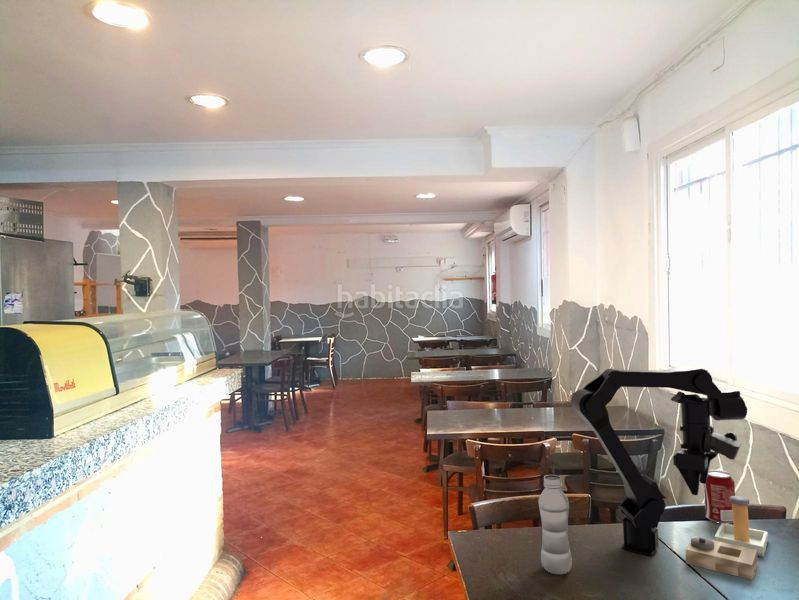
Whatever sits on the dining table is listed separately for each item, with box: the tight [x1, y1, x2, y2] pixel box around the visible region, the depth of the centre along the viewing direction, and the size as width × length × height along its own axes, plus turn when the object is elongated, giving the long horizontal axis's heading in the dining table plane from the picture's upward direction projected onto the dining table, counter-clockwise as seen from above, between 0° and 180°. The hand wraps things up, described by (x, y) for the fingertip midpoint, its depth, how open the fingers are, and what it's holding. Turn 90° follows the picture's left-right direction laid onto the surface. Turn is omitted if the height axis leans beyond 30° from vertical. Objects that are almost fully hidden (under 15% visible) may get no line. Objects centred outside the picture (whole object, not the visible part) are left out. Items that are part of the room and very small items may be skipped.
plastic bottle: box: [537, 474, 573, 576], centre depth 113 cm, size 6×7×20 cm
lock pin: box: [730, 495, 750, 543], centre depth 121 cm, size 4×4×10 cm
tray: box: [714, 523, 769, 557], centre depth 121 cm, size 9×9×2 cm
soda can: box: [703, 469, 736, 524], centre depth 134 cm, size 7×7×12 cm
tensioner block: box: [685, 535, 759, 581], centre depth 113 cm, size 12×8×4 cm, turn 50°
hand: (699, 488), depth 121 cm, fingers open, 9 cm apart
